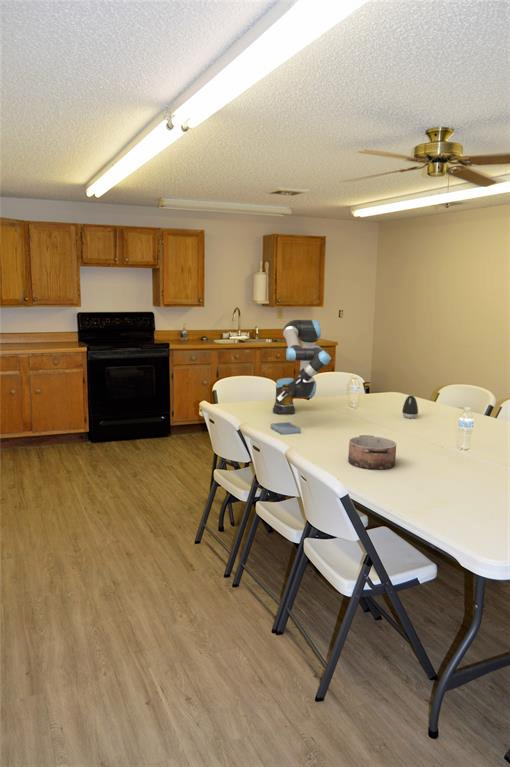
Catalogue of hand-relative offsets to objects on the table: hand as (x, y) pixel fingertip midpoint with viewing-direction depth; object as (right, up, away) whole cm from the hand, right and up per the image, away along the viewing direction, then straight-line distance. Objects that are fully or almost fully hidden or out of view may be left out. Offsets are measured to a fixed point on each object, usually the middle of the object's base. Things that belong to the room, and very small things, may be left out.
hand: (279, 398), depth 341 cm
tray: (+4, -19, +1) cm, 19 cm away
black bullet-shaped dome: (+89, -14, +46) cm, 101 cm away
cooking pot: (+42, -30, -60) cm, 79 cm away
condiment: (+3, -4, -1) cm, 5 cm away
